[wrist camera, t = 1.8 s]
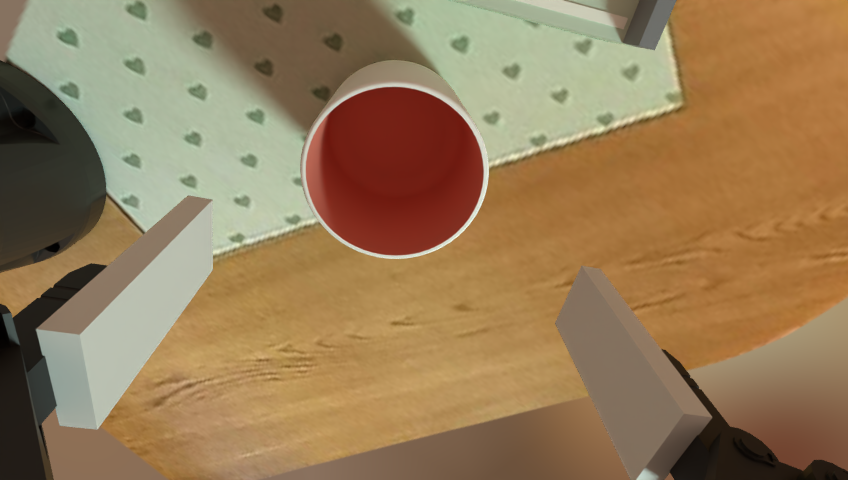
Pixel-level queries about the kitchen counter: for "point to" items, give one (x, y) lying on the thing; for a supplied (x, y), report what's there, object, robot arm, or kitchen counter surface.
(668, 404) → the robot arm
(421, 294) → the kitchen counter surface
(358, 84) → the cup
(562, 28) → the dock
